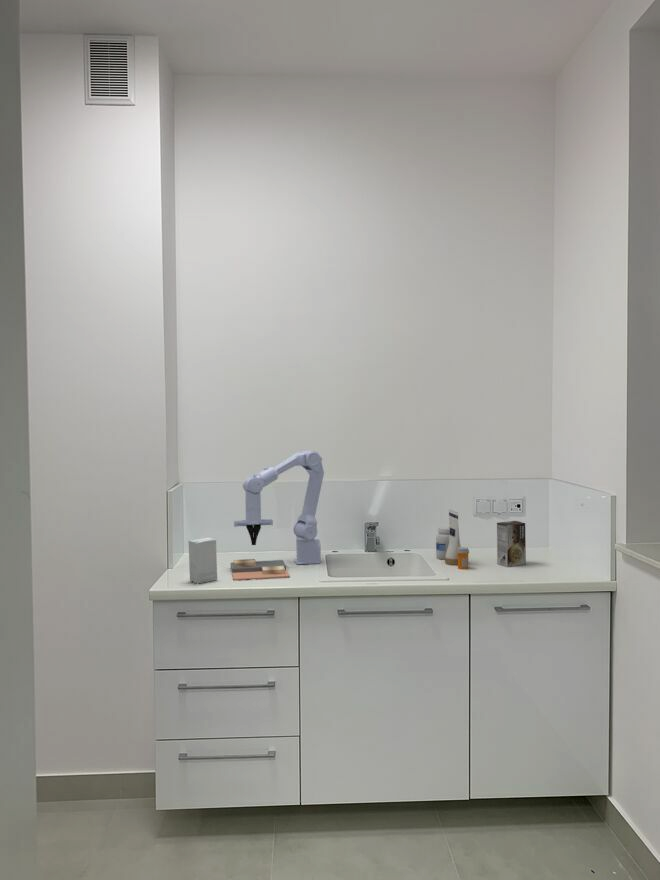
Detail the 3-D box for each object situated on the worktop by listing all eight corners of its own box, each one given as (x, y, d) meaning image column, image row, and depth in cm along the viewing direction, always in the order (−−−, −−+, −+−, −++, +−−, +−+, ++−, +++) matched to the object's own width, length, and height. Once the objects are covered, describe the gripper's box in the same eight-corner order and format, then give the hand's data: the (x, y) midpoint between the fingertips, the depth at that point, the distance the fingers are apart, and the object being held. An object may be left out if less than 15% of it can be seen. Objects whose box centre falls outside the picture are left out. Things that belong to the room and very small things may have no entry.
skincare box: (209, 577, 253) (208, 536, 252) (218, 580, 248) (217, 538, 247) (188, 581, 247) (187, 539, 247) (196, 584, 243) (196, 541, 242)
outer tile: (254, 563, 267) (254, 558, 267) (256, 566, 261) (256, 562, 261) (233, 564, 265) (233, 559, 265) (234, 567, 259) (234, 563, 259)
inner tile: (283, 570, 260) (283, 565, 260) (285, 573, 255) (285, 569, 255) (261, 571, 259) (261, 567, 259) (263, 574, 253) (263, 570, 253)
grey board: (282, 565, 272) (282, 559, 272) (286, 571, 261) (286, 565, 261) (230, 567, 268) (230, 562, 268) (232, 574, 257) (232, 568, 257)
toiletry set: (433, 557, 284) (433, 506, 284) (451, 556, 286) (450, 505, 285) (455, 570, 260) (455, 515, 259) (474, 569, 261) (474, 514, 260)
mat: (286, 571, 261) (286, 569, 261) (290, 577, 251) (289, 575, 251) (232, 574, 257) (232, 572, 257) (233, 580, 247) (233, 579, 247)
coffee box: (515, 561, 273) (515, 520, 273) (526, 564, 267) (526, 522, 267) (496, 564, 269) (496, 522, 269) (507, 567, 263) (507, 524, 263)
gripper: (234, 511, 260) (235, 547, 261) (273, 509, 263) (274, 545, 264) (233, 508, 267) (233, 544, 268) (271, 507, 270) (271, 542, 271)
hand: (253, 544), depth 266 cm, fingers closed
